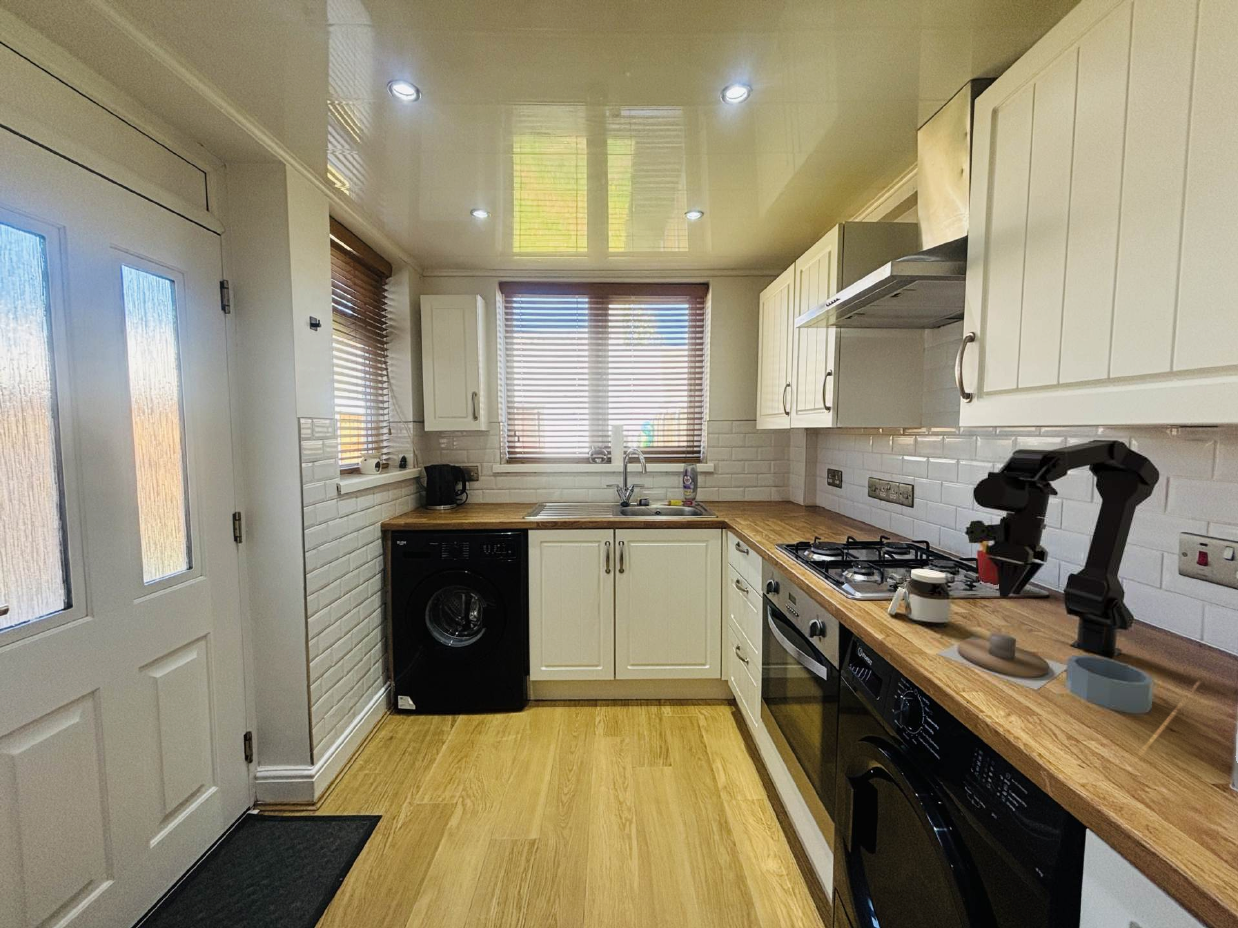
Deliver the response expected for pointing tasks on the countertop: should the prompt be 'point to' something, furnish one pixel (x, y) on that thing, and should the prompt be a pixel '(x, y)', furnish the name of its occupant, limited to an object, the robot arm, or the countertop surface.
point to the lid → (1003, 657)
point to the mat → (1028, 682)
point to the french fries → (986, 566)
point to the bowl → (1110, 683)
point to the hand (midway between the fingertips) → (1009, 595)
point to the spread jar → (924, 598)
